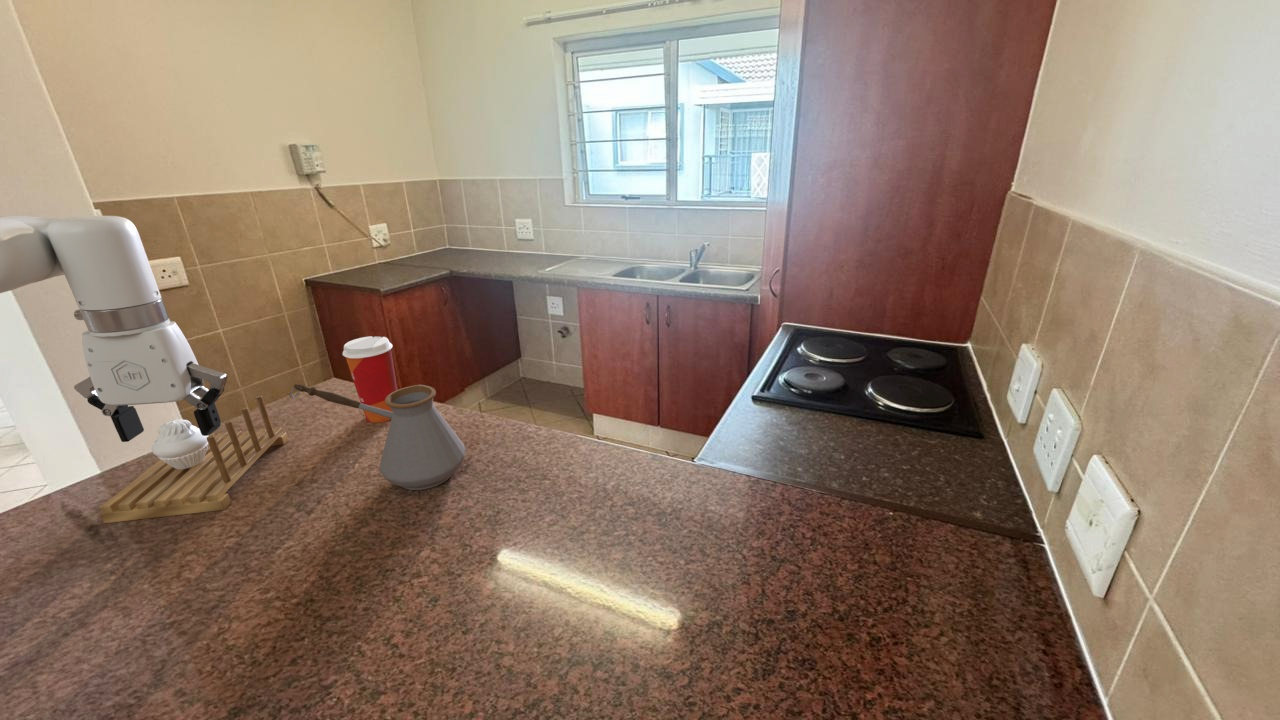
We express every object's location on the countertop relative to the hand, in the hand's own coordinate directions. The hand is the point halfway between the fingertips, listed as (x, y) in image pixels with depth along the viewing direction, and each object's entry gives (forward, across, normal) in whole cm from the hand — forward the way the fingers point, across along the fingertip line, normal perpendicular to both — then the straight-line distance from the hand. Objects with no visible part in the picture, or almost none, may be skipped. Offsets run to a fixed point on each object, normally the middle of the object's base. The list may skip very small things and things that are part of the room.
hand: (173, 433), depth 70 cm
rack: (+7, +2, 0) cm, 8 cm away
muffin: (+5, 0, 0) cm, 5 cm away
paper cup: (+7, +22, +15) cm, 28 cm away
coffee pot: (+7, +29, -5) cm, 30 cm away
